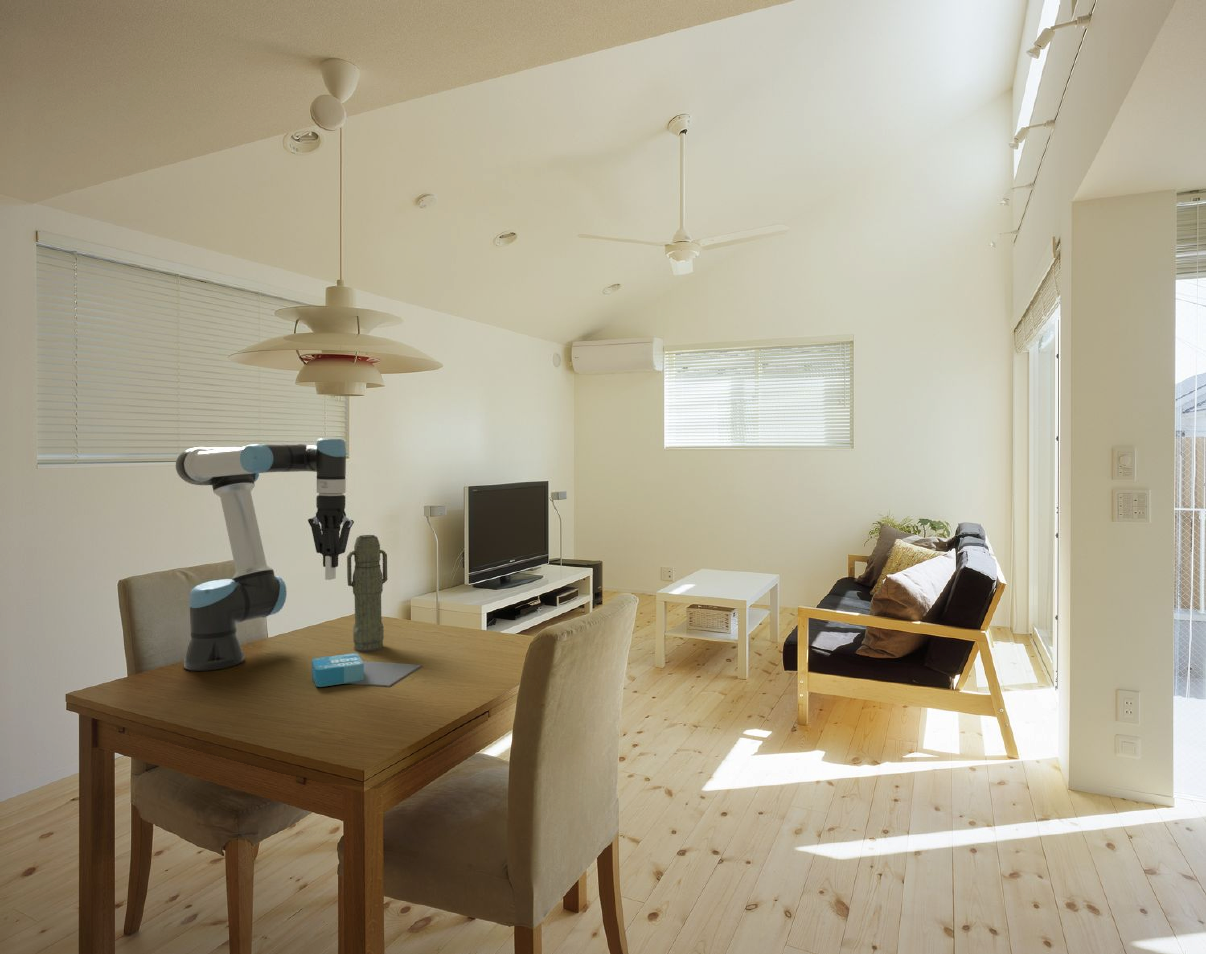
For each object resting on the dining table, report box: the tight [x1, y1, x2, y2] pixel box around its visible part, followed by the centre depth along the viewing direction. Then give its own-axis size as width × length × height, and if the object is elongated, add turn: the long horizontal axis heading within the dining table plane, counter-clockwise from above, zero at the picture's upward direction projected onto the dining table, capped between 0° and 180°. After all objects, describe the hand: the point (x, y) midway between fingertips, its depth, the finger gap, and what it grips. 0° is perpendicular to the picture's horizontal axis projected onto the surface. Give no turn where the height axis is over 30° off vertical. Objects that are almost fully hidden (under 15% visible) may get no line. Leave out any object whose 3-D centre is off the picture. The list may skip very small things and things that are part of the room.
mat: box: [345, 660, 423, 688], centre depth 195 cm, size 19×18×1 cm
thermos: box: [346, 534, 388, 653], centre depth 220 cm, size 9×12×35 cm
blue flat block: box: [311, 652, 364, 688], centre depth 190 cm, size 12×4×12 cm
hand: (330, 578), depth 198 cm, fingers closed
